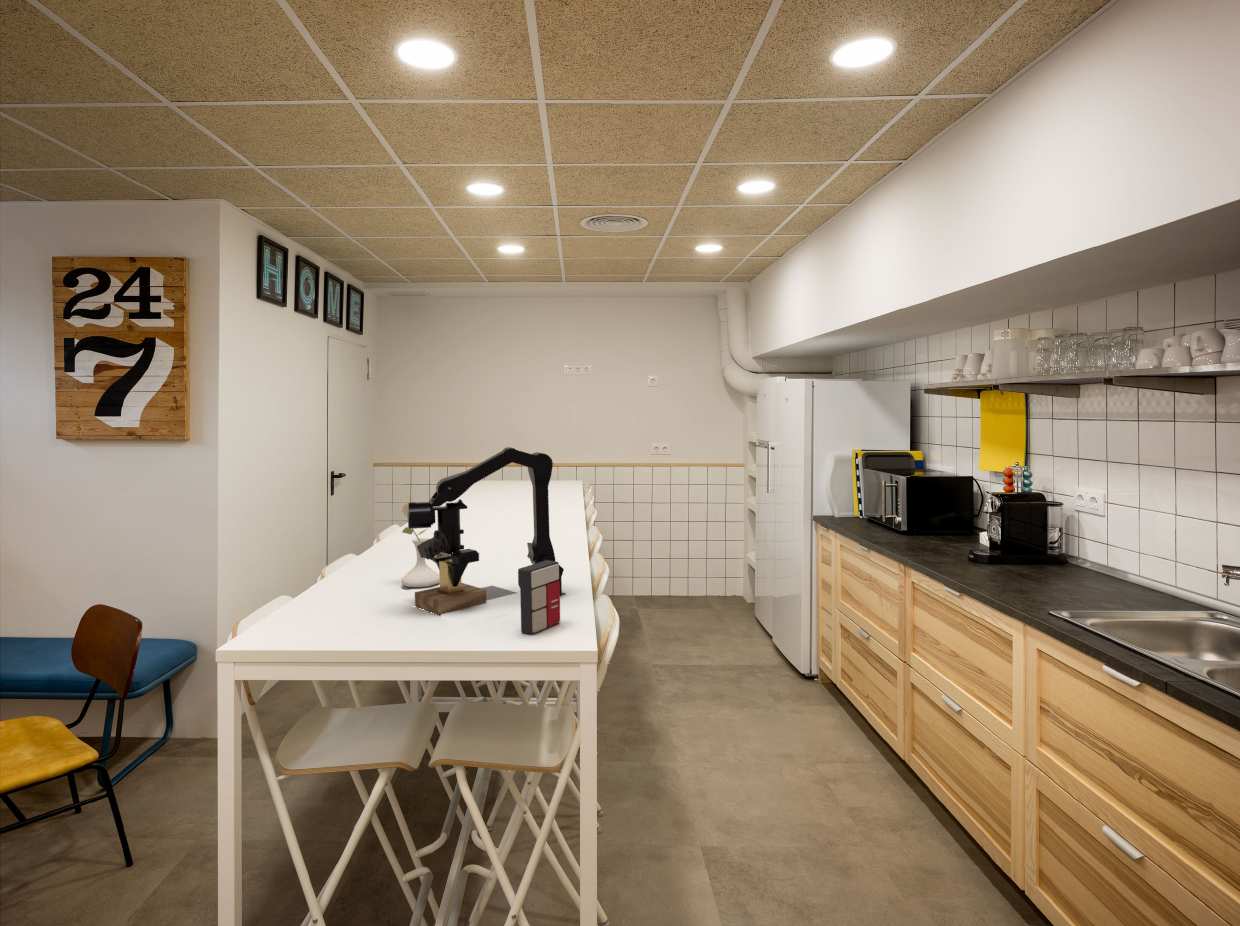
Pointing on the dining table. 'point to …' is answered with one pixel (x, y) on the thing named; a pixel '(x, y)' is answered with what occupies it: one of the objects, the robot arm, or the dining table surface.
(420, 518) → the robot arm
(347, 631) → the dining table surface
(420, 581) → the flower in vase
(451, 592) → the light wooden block
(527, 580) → the grey and red case
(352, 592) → the dining table surface
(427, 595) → the hole block
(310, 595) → the dining table surface
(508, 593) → the rubber mat
